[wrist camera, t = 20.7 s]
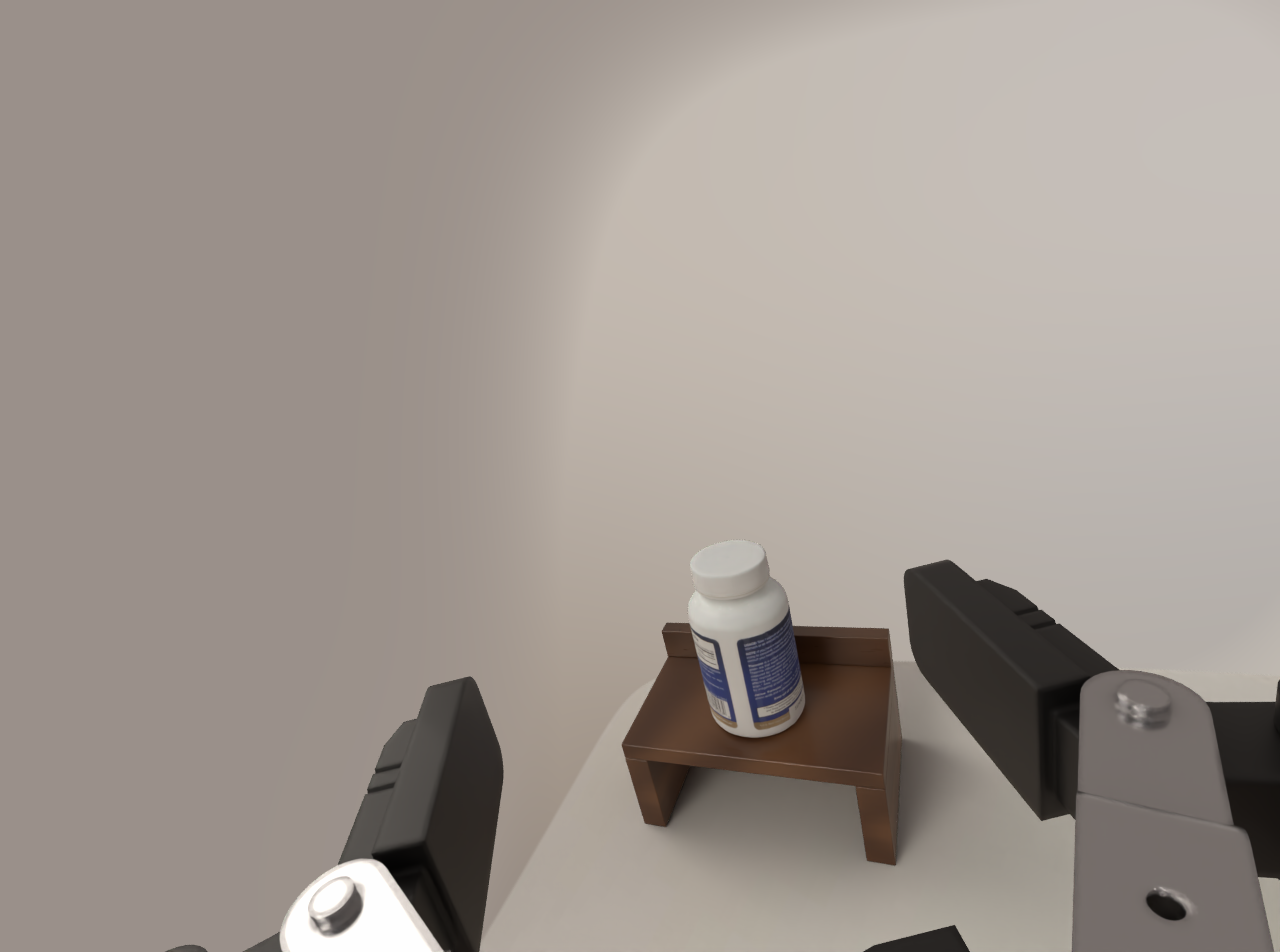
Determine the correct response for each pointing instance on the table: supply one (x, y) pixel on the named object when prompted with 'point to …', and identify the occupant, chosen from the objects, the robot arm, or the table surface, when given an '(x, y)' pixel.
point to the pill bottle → (744, 640)
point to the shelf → (809, 749)
